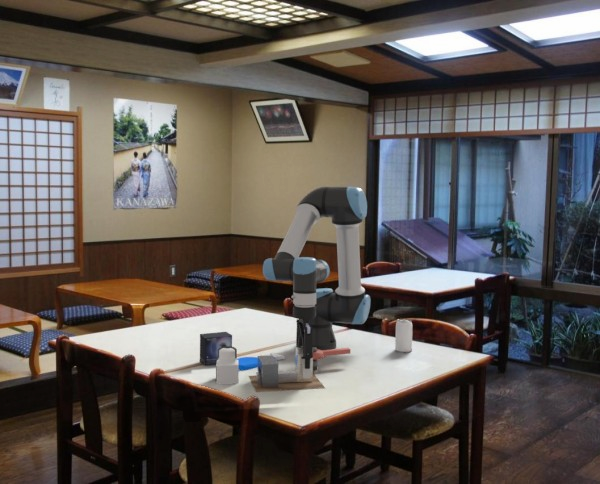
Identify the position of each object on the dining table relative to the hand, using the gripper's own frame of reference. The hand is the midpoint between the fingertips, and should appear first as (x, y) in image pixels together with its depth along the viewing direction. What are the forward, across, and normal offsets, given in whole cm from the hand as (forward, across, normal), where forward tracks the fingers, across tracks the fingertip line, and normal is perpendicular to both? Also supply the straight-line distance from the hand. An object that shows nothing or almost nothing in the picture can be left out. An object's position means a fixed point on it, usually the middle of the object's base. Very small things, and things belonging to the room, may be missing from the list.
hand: (304, 374), depth 224 cm
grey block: (+2, 0, -12) cm, 12 cm away
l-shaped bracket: (+2, 0, -6) cm, 7 cm away
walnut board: (+3, 0, -6) cm, 7 cm away
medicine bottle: (+3, -5, -24) cm, 25 cm away
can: (+3, -37, +48) cm, 61 cm away
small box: (+3, -32, -26) cm, 41 cm away
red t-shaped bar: (-2, -14, +11) cm, 18 cm away
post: (+3, -13, +6) cm, 15 cm away
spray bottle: (+4, -27, -11) cm, 30 cm away
